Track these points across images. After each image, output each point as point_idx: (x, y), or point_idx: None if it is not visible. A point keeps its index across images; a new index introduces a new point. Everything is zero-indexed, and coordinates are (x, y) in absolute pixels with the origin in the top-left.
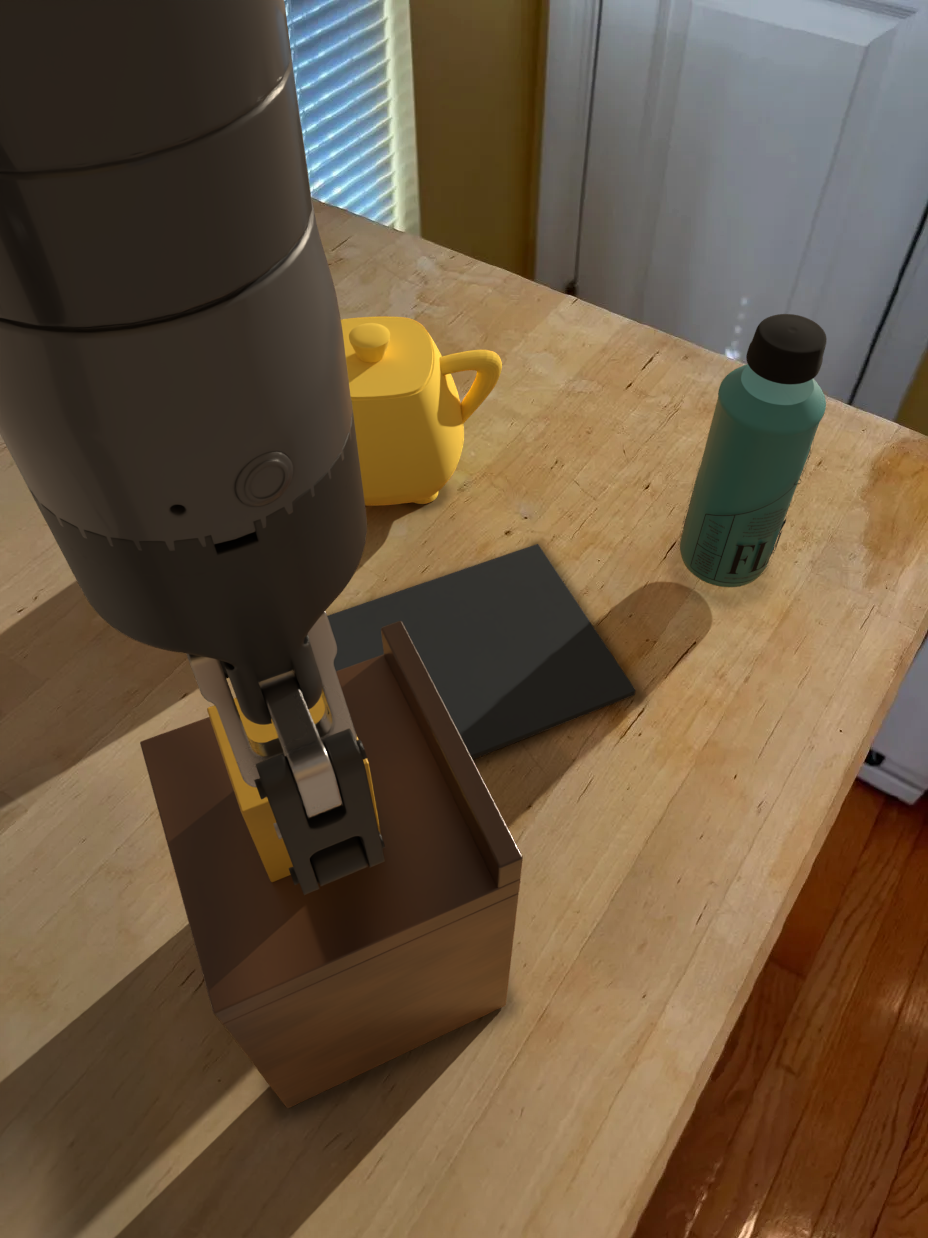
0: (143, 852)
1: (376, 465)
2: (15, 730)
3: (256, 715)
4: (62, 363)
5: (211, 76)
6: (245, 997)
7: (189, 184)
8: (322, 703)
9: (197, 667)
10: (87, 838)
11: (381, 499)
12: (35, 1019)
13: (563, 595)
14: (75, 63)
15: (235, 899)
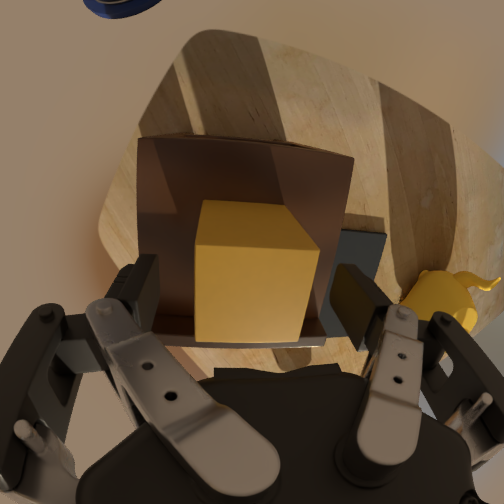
0: (326, 118)
1: (423, 305)
2: (408, 99)
3: (75, 495)
4: None
5: None
6: (137, 159)
7: None
8: (265, 332)
9: (205, 483)
10: (345, 100)
11: (411, 294)
12: (275, 51)
13: (327, 335)
14: None
15: (203, 173)
